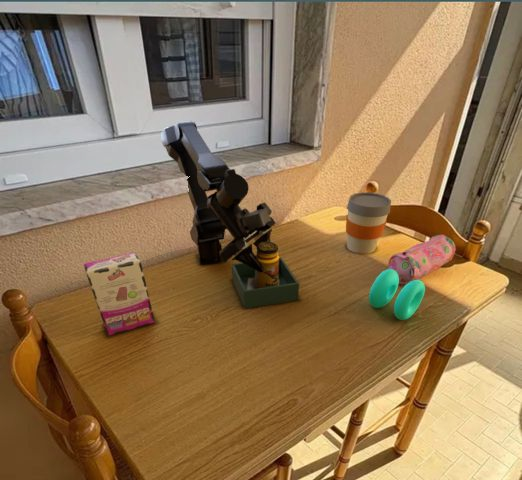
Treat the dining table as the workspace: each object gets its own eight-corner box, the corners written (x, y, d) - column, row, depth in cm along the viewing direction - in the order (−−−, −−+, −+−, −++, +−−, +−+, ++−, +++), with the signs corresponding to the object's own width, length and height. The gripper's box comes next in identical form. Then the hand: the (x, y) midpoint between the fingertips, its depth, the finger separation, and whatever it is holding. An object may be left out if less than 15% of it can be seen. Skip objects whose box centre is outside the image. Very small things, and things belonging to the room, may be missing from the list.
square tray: (244, 308, 95) (244, 291, 92) (232, 280, 106) (231, 263, 102) (297, 300, 98) (299, 283, 95) (280, 273, 109) (281, 257, 105)
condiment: (278, 295, 99) (281, 252, 91) (246, 294, 99) (245, 251, 91) (279, 280, 104) (281, 239, 96) (248, 279, 104) (247, 238, 96)
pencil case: (406, 291, 102) (416, 261, 96) (379, 277, 107) (387, 247, 101) (452, 268, 111) (463, 239, 105) (425, 256, 117) (434, 228, 111)
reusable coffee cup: (385, 256, 117) (397, 207, 107) (344, 256, 117) (352, 207, 107) (376, 238, 126) (386, 192, 116) (338, 238, 126) (345, 191, 116)
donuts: (384, 295, 100) (393, 261, 94) (419, 311, 95) (432, 276, 88) (363, 311, 95) (371, 275, 88) (399, 328, 90) (410, 292, 83)
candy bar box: (150, 312, 94) (136, 251, 83) (155, 323, 90) (141, 260, 80) (103, 324, 90) (82, 262, 79) (107, 336, 87) (86, 273, 76)
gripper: (227, 208, 81) (271, 267, 85) (269, 183, 94) (306, 236, 97) (201, 234, 89) (242, 288, 93) (243, 208, 102) (278, 256, 105)
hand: (268, 266), depth 97 cm, fingers closed on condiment, 6 cm apart
